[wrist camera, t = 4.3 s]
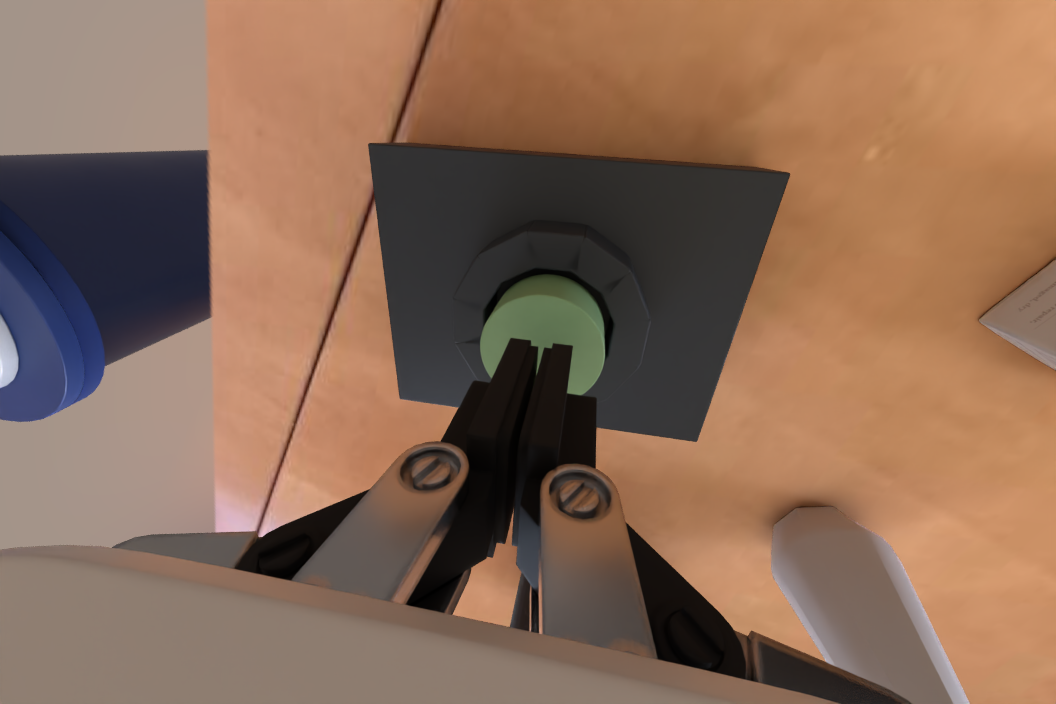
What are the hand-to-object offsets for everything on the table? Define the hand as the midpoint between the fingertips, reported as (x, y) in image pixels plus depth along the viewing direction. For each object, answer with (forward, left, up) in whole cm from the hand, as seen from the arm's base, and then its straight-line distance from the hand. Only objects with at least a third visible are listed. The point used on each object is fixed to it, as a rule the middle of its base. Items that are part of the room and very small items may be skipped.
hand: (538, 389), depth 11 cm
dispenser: (0, 0, -9) cm, 9 cm away
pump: (0, 0, -4) cm, 4 cm away
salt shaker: (+16, -13, -9) cm, 22 cm away
